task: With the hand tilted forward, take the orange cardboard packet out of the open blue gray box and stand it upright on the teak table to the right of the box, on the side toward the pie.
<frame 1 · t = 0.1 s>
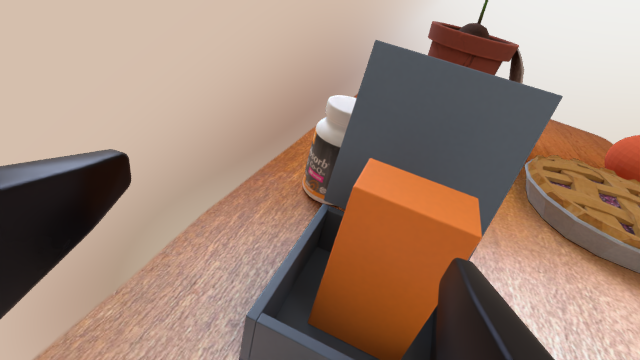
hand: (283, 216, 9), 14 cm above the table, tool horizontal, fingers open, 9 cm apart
pie: (597, 223, 43), on the table
tomato: (623, 187, 56), on the table
potted plant: (452, 120, 67), on the table
blue gray box: (354, 327, 22), on the table
pill bottle: (327, 192, 35), on the table
lid: (425, 150, 23), point 10 cm above the table, hinge at 100.0°
packet: (357, 322, 22), point 1 cm above the table, touching blue gray box
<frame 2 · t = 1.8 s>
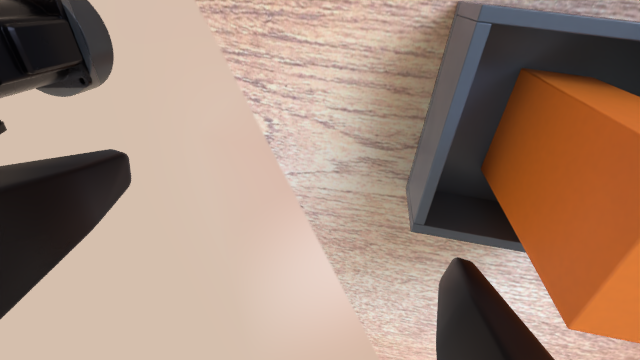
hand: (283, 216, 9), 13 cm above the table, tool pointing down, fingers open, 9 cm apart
blue gray box: (527, 123, 19), on the table
packet: (531, 127, 18), point 1 cm above the table, touching blue gray box
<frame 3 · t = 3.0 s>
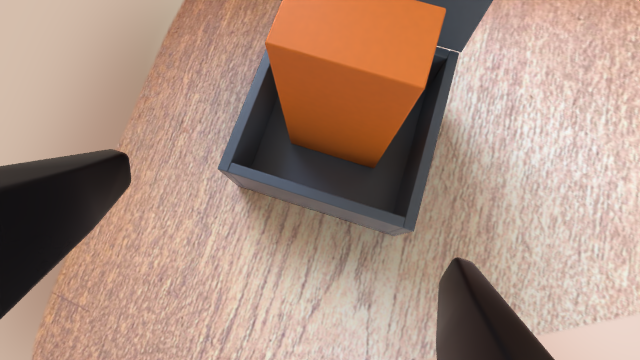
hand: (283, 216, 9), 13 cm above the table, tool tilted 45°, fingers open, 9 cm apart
blue gray box: (338, 136, 23), on the table
packet: (339, 133, 23), point 1 cm above the table, touching blue gray box
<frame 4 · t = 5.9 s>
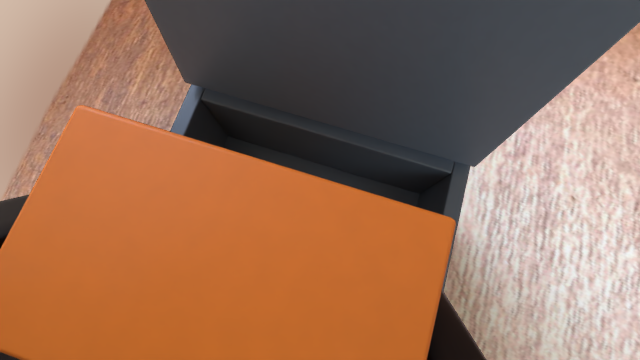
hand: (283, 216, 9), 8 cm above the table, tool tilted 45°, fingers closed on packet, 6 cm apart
blue gray box: (290, 263, 16), on the table
packet: (289, 263, 15), point 1 cm above the table, touching blue gray box, gripper
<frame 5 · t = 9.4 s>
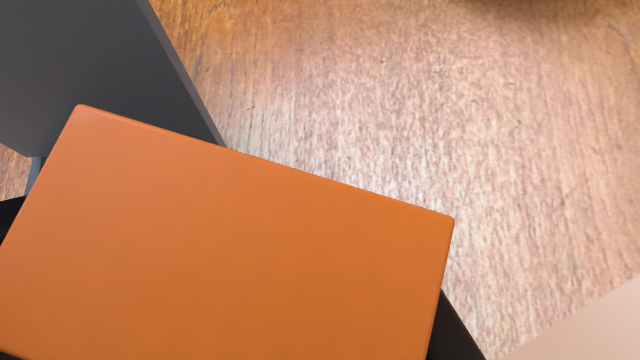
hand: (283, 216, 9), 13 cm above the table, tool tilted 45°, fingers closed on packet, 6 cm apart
blue gray box: (157, 258, 21), on the table
lid: (60, 51, 13), point 10 cm above the table, hinge at 100.0°
packet: (289, 263, 15), point 7 cm above the table, touching gripper
when the fingers open (7 cm above the table, at t = 12.7 s): packet stays where it is, on the table.
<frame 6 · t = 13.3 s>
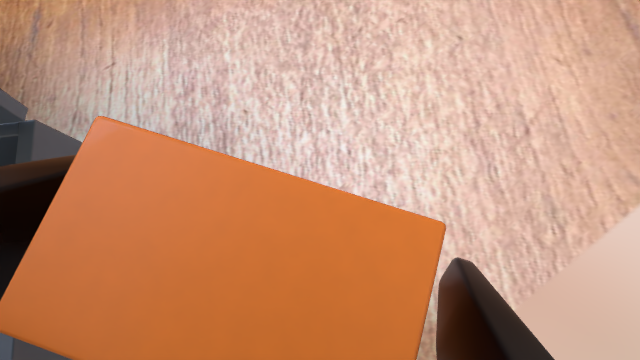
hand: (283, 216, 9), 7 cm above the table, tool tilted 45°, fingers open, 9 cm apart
packet: (290, 263, 15), on the table
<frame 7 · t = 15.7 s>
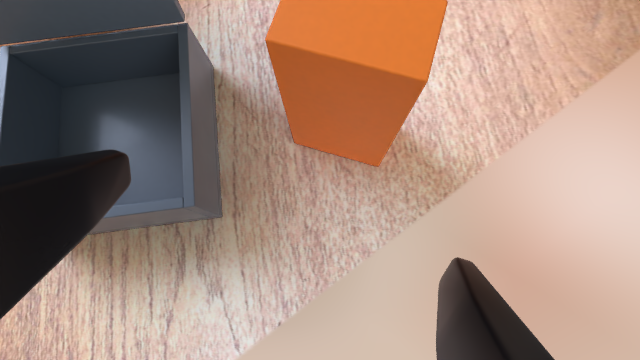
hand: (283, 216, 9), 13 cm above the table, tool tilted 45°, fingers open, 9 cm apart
blue gray box: (137, 147, 23), on the table
packet: (342, 132, 23), on the table
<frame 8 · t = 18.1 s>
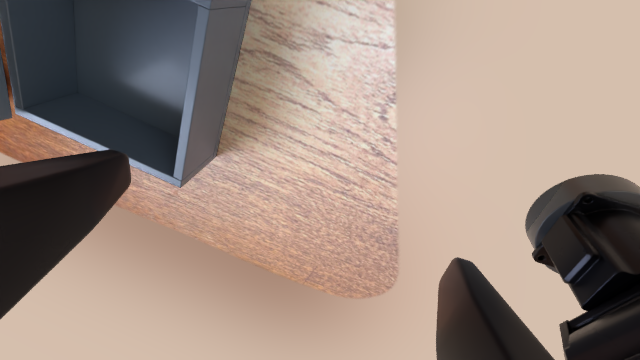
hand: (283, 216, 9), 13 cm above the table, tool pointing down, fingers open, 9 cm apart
blue gray box: (153, 51, 21), on the table
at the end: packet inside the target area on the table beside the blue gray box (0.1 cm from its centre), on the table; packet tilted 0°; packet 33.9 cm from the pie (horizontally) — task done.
